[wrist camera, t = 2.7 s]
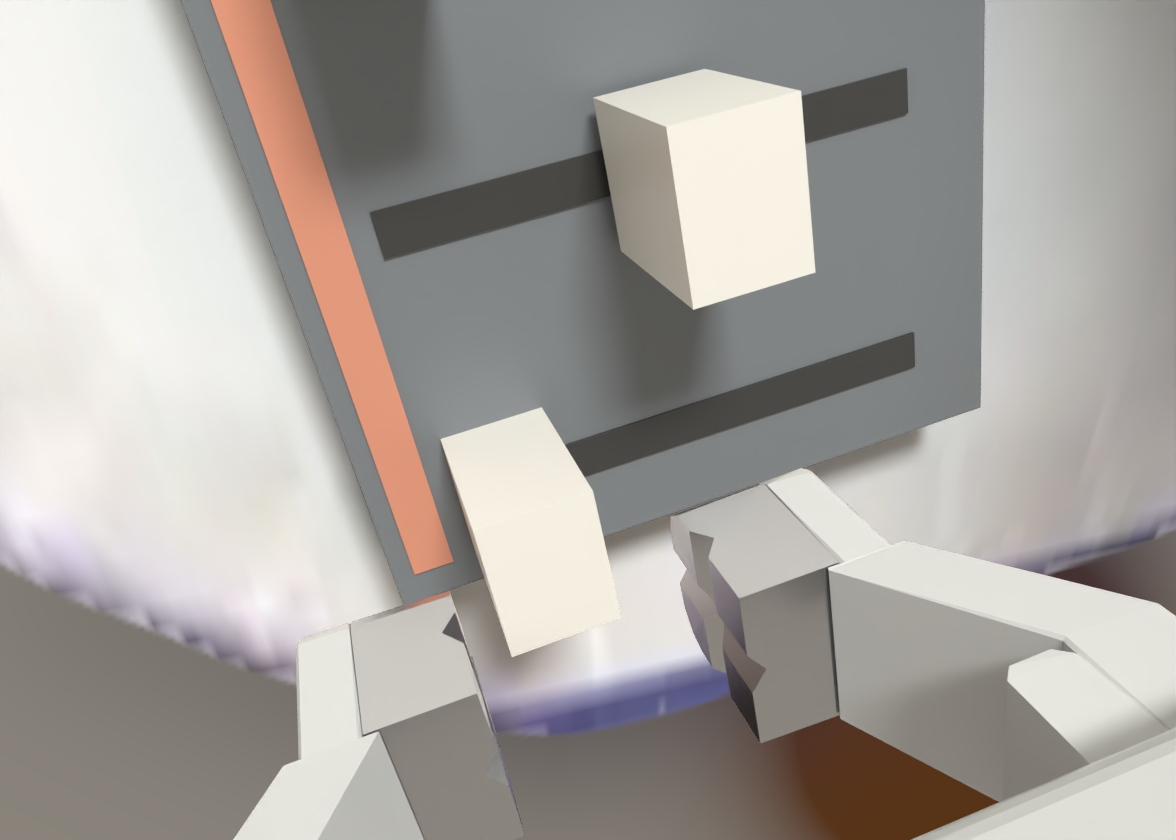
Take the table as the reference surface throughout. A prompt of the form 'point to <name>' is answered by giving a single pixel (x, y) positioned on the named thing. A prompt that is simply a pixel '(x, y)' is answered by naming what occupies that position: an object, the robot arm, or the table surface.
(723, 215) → the handle
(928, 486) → the table surface
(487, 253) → the breaker panel
